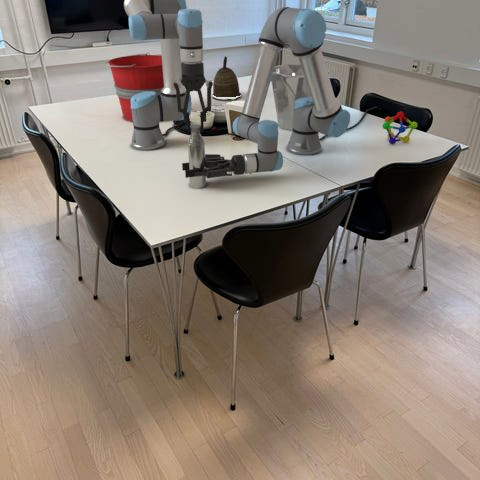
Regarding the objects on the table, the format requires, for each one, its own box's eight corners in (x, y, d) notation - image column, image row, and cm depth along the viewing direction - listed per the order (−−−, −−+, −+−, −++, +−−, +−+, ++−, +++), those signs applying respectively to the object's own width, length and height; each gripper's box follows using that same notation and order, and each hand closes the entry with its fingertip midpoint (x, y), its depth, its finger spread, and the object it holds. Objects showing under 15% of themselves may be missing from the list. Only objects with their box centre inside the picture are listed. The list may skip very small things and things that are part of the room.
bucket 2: (296, 138, 215) (301, 78, 201) (255, 124, 234) (256, 68, 219) (335, 125, 232) (342, 70, 217) (294, 113, 251) (297, 61, 236)
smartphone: (201, 167, 182) (204, 154, 195) (201, 169, 182) (204, 155, 195) (218, 167, 182) (220, 154, 195) (218, 169, 182) (220, 155, 195)
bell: (227, 105, 294) (202, 96, 282) (238, 66, 289) (213, 55, 277) (243, 108, 280) (217, 98, 268) (255, 66, 275) (229, 55, 263)
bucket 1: (122, 106, 262) (115, 52, 246) (181, 107, 261) (178, 52, 245) (105, 124, 232) (96, 64, 216) (172, 125, 231) (167, 64, 216)
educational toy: (377, 146, 209) (379, 114, 202) (384, 138, 219) (386, 107, 211) (411, 149, 202) (415, 116, 195) (417, 141, 212) (420, 109, 204)
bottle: (205, 188, 167) (202, 130, 155) (189, 187, 167) (185, 130, 156) (207, 181, 172) (204, 125, 161) (191, 181, 173) (188, 124, 161)
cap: (203, 129, 160) (203, 124, 159) (199, 133, 156) (198, 128, 156) (192, 128, 161) (191, 123, 160) (187, 132, 157) (187, 127, 156)
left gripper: (166, 64, 142) (171, 135, 154) (219, 63, 144) (220, 133, 157) (165, 60, 148) (171, 128, 161) (216, 59, 151) (218, 126, 163)
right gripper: (250, 183, 165) (188, 190, 159) (236, 164, 180) (180, 169, 175) (250, 164, 161) (187, 170, 155) (236, 146, 176) (179, 151, 171)
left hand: (195, 130), depth 159 cm, fingers closed on cap, 4 cm apart
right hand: (184, 170), depth 165 cm, fingers closed on bottle, 6 cm apart
